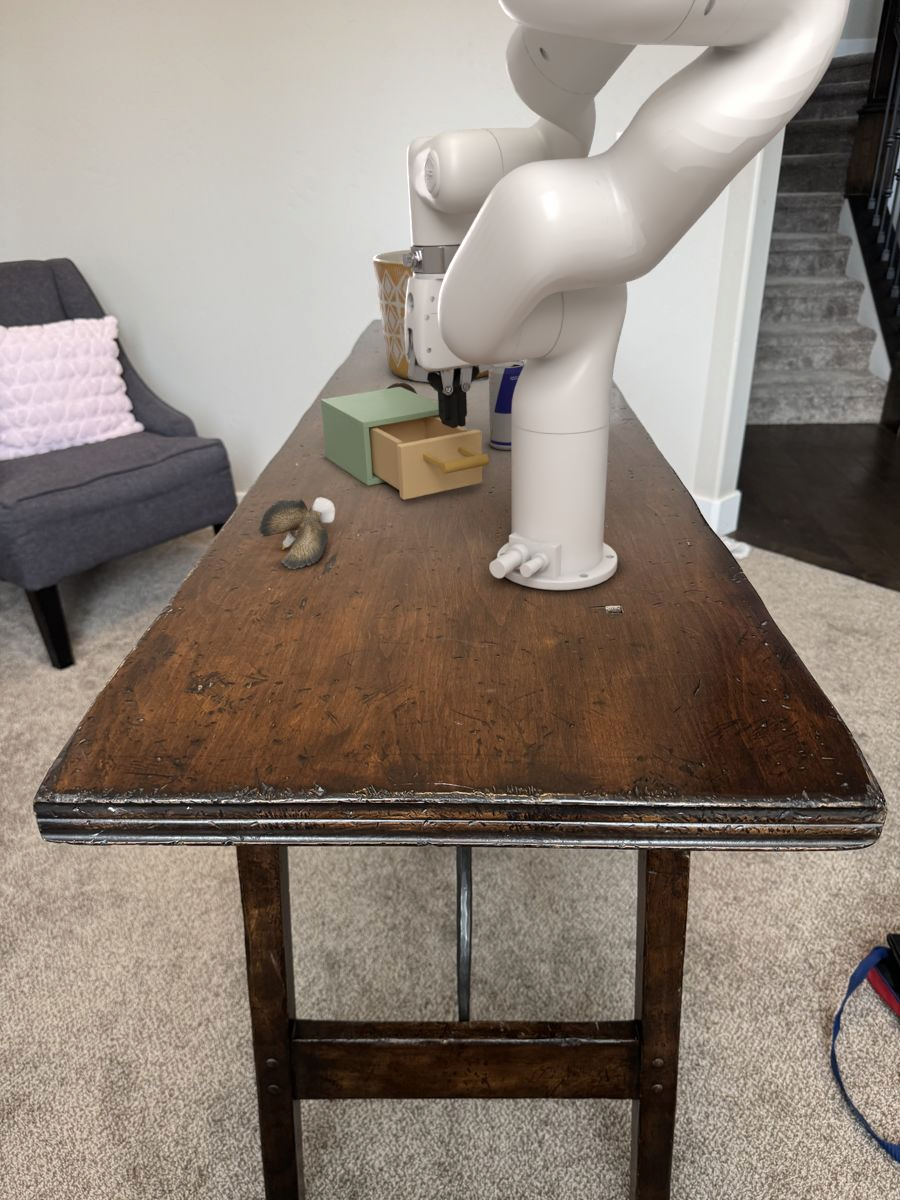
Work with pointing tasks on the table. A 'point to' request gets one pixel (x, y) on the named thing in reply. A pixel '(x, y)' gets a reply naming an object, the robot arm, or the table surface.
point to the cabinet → (367, 425)
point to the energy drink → (502, 402)
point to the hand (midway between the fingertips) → (453, 424)
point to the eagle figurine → (299, 528)
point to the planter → (395, 308)
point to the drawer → (426, 456)
